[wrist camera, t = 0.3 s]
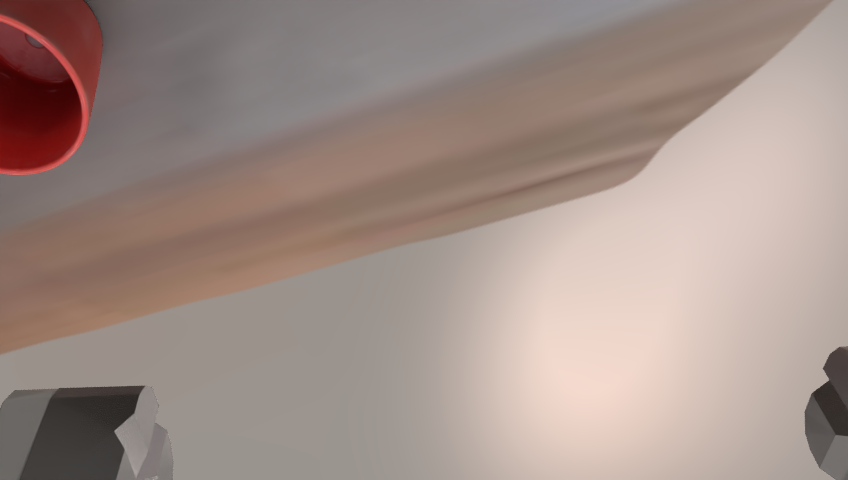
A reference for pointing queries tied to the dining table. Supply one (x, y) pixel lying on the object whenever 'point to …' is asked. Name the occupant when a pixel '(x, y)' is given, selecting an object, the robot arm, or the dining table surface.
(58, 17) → the flower pot
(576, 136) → the dining table surface
